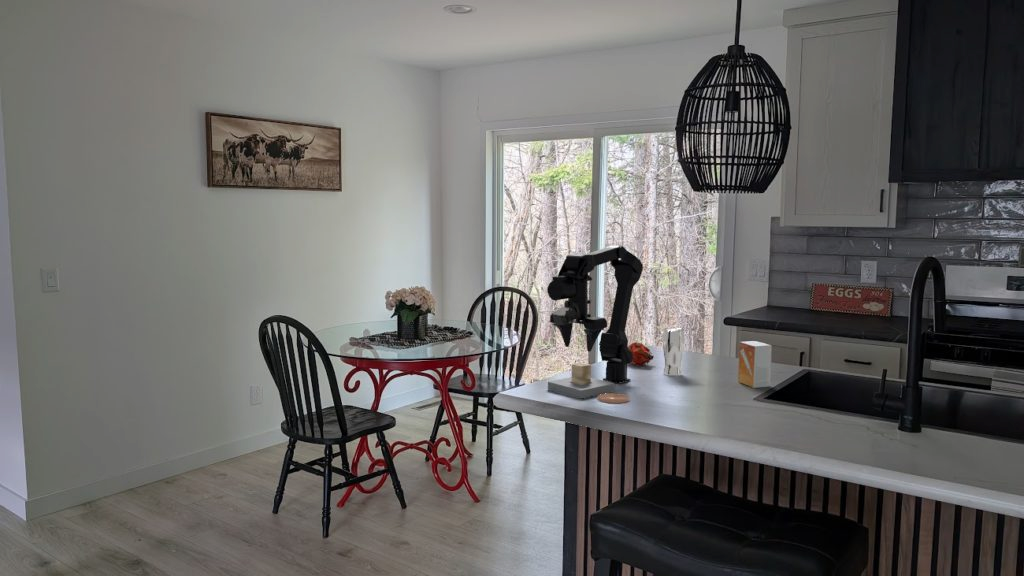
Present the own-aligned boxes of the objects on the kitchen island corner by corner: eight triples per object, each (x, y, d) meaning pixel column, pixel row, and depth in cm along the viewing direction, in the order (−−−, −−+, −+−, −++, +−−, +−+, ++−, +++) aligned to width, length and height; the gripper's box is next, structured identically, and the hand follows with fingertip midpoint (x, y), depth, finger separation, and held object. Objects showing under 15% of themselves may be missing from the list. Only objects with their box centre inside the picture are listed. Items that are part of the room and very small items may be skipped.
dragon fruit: (629, 365, 263) (648, 376, 252) (614, 353, 259) (633, 364, 248) (642, 346, 263) (662, 356, 253) (628, 334, 259) (648, 344, 249)
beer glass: (686, 373, 242) (687, 328, 241) (679, 377, 236) (680, 331, 235) (666, 371, 246) (667, 327, 245) (658, 374, 240) (660, 329, 239)
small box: (737, 382, 230) (739, 341, 229) (754, 381, 232) (756, 340, 231) (753, 388, 222) (754, 346, 221) (770, 386, 224) (772, 345, 223)
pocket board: (580, 383, 228) (580, 375, 227) (614, 391, 217) (614, 383, 217) (547, 389, 219) (547, 381, 219) (581, 399, 208) (581, 390, 208)
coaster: (612, 393, 214) (612, 391, 214) (636, 399, 207) (636, 397, 207) (591, 398, 209) (591, 396, 209) (614, 405, 202) (614, 402, 202)
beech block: (580, 388, 221) (581, 362, 220) (590, 391, 218) (590, 364, 217) (571, 390, 218) (571, 364, 217) (581, 393, 215) (581, 366, 214)
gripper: (536, 296, 216) (536, 348, 218) (580, 302, 202) (581, 358, 204) (563, 293, 223) (563, 343, 225) (608, 298, 209) (608, 352, 211)
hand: (578, 349), depth 216 cm, fingers open, 9 cm apart
